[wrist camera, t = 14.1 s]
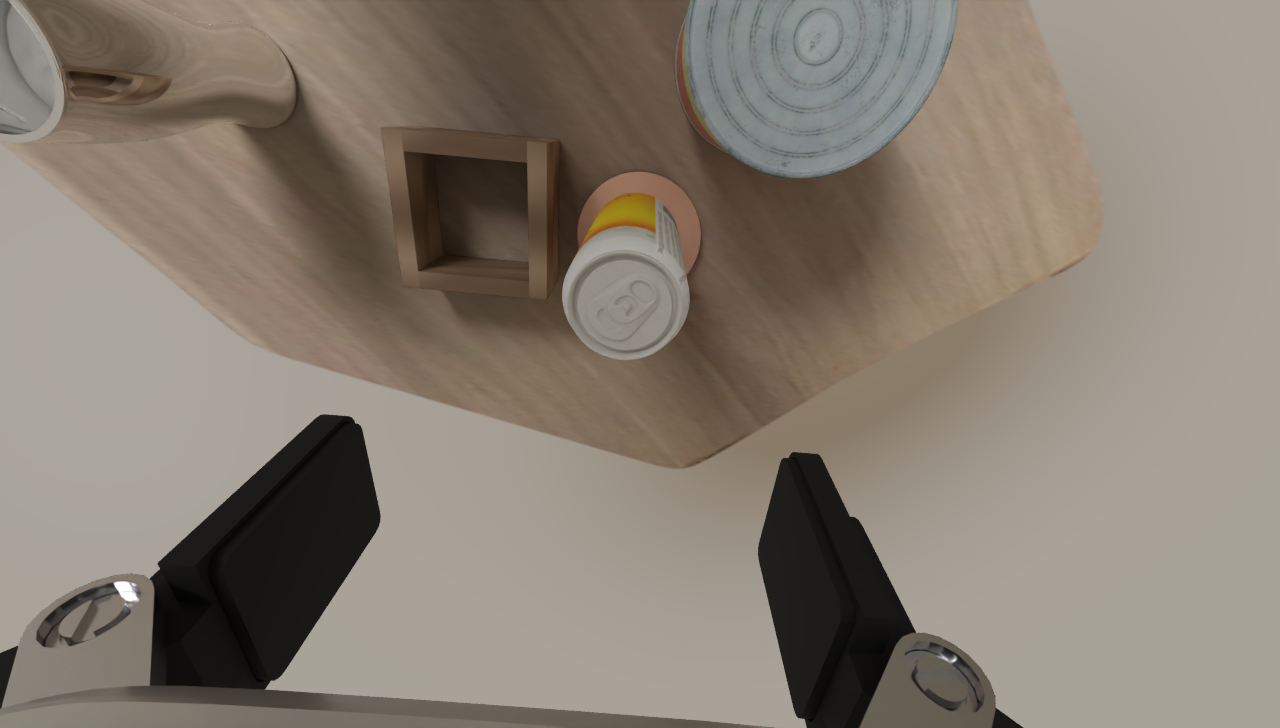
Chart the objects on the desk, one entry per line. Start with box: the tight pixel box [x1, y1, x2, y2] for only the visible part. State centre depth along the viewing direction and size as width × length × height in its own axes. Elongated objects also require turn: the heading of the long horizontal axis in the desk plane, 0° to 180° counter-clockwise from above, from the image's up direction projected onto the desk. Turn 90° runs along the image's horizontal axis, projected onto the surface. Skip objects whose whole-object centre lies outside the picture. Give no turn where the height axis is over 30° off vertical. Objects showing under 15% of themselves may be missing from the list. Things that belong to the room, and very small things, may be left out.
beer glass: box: [0, 0, 297, 144], centre depth 26 cm, size 7×7×15 cm
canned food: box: [675, 0, 958, 179], centre depth 26 cm, size 11×11×12 cm
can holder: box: [381, 126, 559, 300], centre depth 34 cm, size 10×10×4 cm
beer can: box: [562, 193, 690, 360], centre depth 29 cm, size 6×6×15 cm
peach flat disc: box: [577, 171, 701, 275], centre depth 36 cm, size 9×9×1 cm
